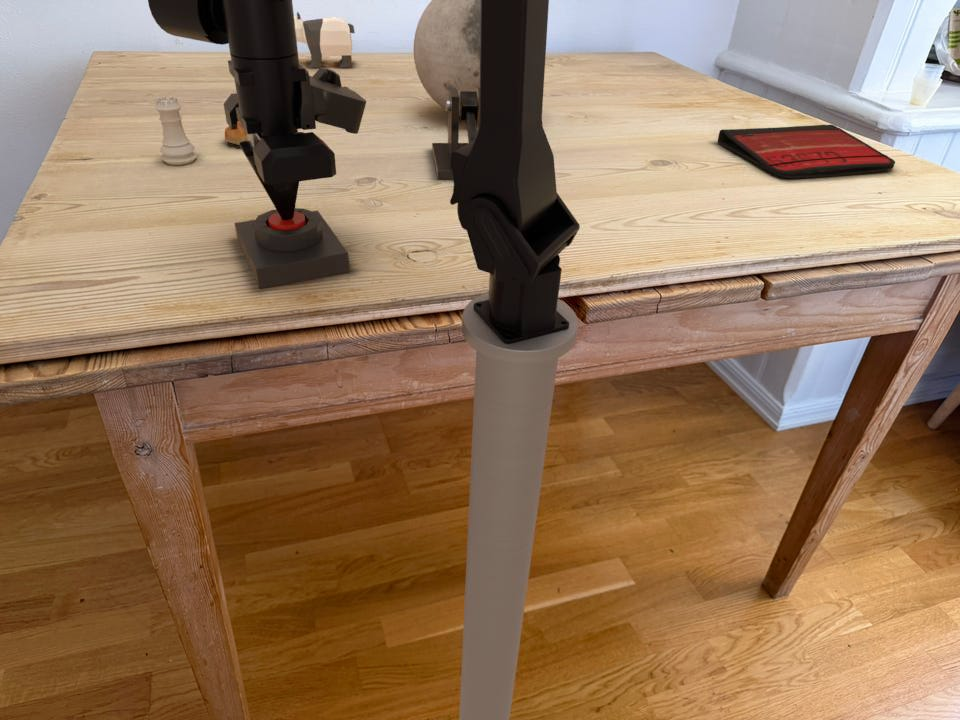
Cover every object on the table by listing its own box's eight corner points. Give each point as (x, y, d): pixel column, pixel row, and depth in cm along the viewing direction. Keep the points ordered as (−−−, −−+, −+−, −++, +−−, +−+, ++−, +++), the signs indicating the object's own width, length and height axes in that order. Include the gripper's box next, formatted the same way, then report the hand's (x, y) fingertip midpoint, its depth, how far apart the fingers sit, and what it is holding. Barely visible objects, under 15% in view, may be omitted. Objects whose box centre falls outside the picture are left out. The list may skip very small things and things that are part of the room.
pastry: (242, 152, 95) (237, 125, 92) (215, 141, 98) (210, 114, 96) (297, 138, 101) (294, 111, 98) (270, 127, 104) (266, 102, 102)
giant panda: (356, 61, 140) (353, 10, 135) (357, 68, 136) (353, 15, 130) (283, 61, 138) (277, 9, 132) (282, 68, 133) (275, 14, 128)
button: (311, 238, 69) (309, 222, 68) (275, 244, 67) (272, 228, 66) (301, 224, 71) (299, 208, 70) (267, 229, 70) (264, 214, 69)
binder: (719, 127, 105) (832, 122, 110) (715, 142, 107) (826, 136, 112) (781, 169, 93) (904, 160, 98) (775, 185, 95) (897, 176, 100)
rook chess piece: (163, 167, 89) (148, 105, 84) (161, 156, 92) (146, 95, 88) (198, 163, 91) (186, 102, 86) (195, 152, 94) (183, 93, 89)
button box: (349, 272, 69) (346, 236, 66) (259, 289, 65) (253, 251, 63) (319, 228, 76) (316, 194, 74) (237, 241, 73) (231, 206, 71)
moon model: (393, 123, 108) (388, -19, 96) (444, 93, 123) (445, -33, 112) (510, 143, 103) (520, -5, 91) (548, 109, 118) (561, -21, 106)
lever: (494, 171, 86) (496, 157, 84) (455, 171, 86) (457, 157, 84) (485, 105, 92) (487, 91, 90) (448, 105, 91) (449, 90, 89)
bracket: (504, 178, 91) (509, 103, 85) (437, 179, 90) (438, 103, 84) (493, 150, 100) (496, 81, 94) (432, 151, 98) (432, 80, 93)
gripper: (388, 71, 55) (395, 243, 65) (324, 27, 69) (337, 175, 78) (250, 81, 51) (278, 264, 60) (210, 32, 64) (237, 189, 74)
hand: (287, 218), depth 68 cm, fingers closed, pressing on button
